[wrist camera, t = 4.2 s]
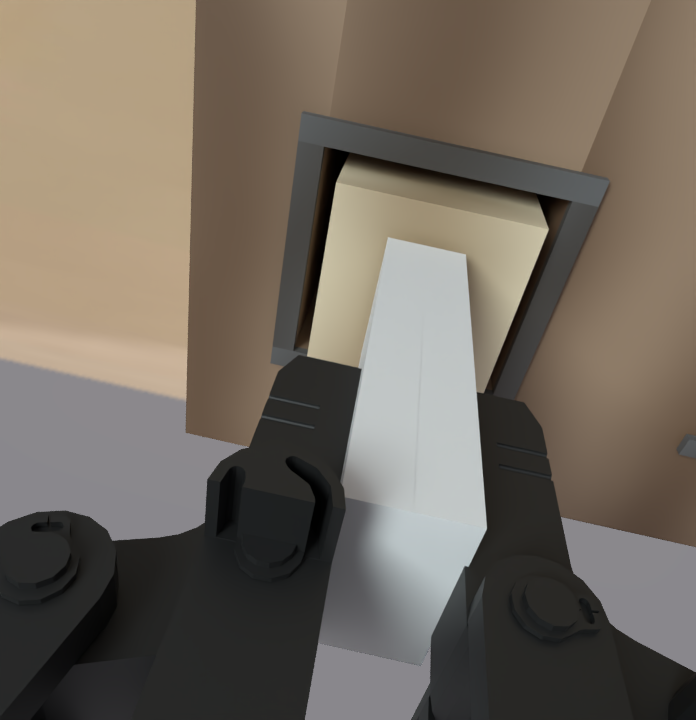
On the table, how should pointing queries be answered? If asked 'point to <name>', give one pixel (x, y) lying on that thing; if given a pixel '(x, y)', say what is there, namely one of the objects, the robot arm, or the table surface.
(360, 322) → the peg
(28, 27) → the table surface
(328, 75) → the wooden box
